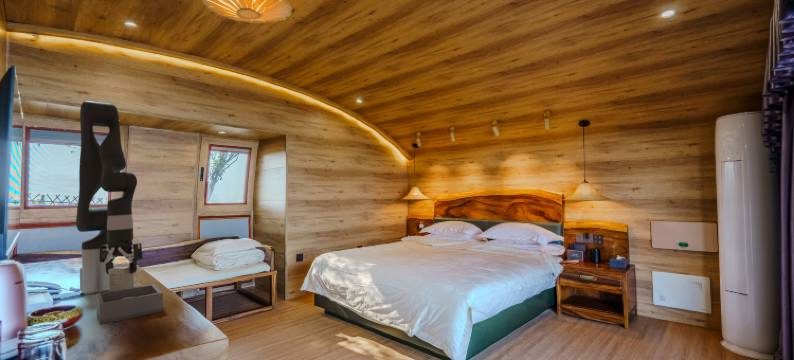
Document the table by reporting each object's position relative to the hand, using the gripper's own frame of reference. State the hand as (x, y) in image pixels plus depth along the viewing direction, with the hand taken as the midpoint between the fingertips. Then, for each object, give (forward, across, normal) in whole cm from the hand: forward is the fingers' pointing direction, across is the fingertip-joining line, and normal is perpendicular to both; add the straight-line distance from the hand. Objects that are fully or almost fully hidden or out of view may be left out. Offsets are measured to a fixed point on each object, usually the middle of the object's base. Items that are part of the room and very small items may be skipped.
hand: (121, 273), depth 134 cm
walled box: (+10, -12, +11) cm, 19 cm away
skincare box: (+10, 0, 0) cm, 10 cm away
